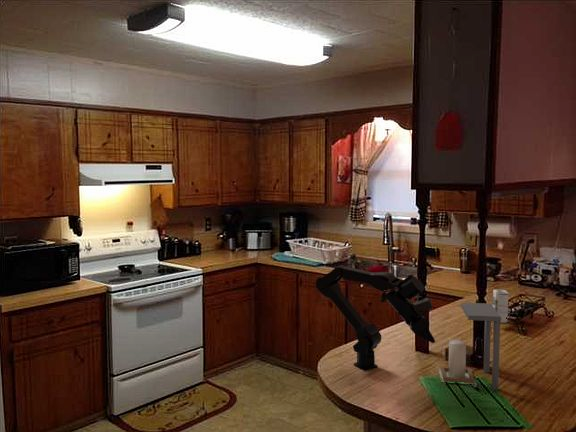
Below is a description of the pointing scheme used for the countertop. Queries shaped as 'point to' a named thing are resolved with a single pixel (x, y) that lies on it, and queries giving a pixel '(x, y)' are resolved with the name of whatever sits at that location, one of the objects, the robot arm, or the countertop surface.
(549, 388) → the countertop surface
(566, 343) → the countertop surface
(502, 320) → the syrup box
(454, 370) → the ceramic jar
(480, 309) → the shelf
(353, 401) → the countertop surface
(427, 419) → the countertop surface
